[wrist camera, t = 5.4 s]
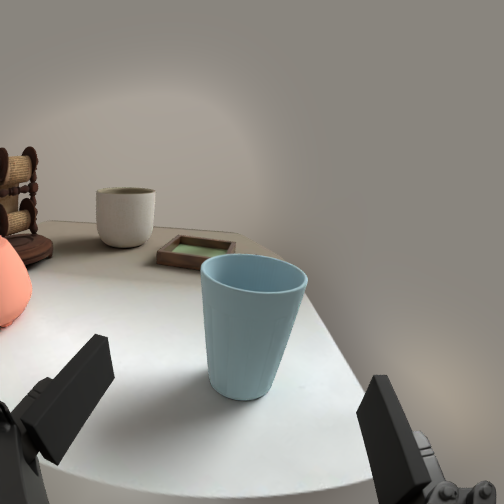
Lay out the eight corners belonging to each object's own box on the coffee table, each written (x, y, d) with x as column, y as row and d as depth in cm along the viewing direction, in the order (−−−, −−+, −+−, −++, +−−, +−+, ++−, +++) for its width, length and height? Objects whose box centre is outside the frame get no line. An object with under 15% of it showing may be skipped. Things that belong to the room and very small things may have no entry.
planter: (165, 242, 61) (167, 190, 58) (125, 256, 50) (126, 195, 47) (124, 232, 65) (125, 186, 62) (85, 243, 54) (84, 190, 51)
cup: (194, 353, 27) (199, 250, 24) (271, 353, 29) (289, 255, 26) (197, 410, 20) (202, 290, 17) (293, 406, 22) (324, 293, 18)
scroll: (24, 244, 48) (24, 148, 42) (68, 256, 46) (69, 144, 40) (-28, 265, 34) (-33, 152, 28) (10, 283, 32) (3, 144, 26)
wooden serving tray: (234, 252, 60) (236, 241, 59) (225, 273, 48) (227, 260, 48) (177, 245, 60) (178, 234, 60) (156, 263, 49) (156, 250, 48)
